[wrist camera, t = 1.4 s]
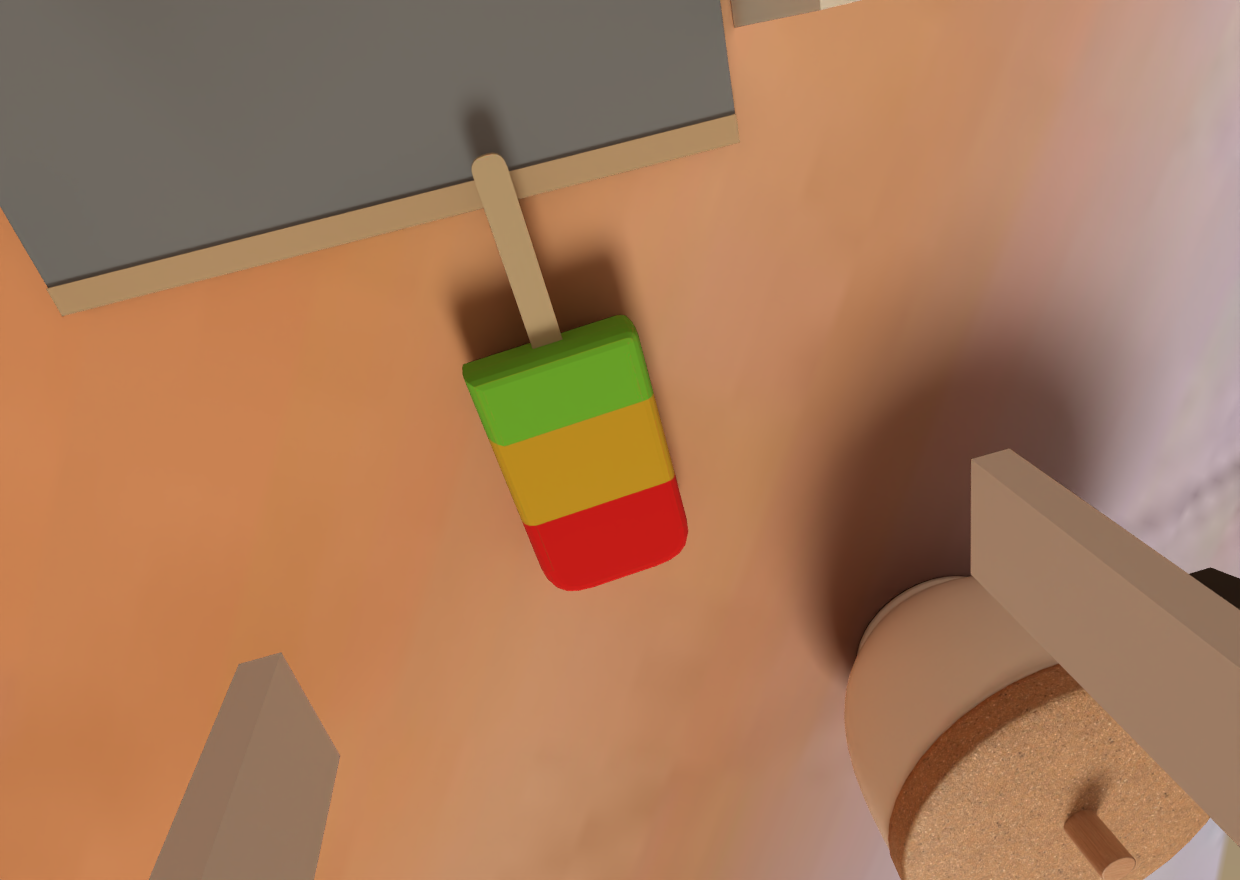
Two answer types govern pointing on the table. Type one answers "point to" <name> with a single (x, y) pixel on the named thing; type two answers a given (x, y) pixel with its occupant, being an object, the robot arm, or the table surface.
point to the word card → (776, 9)
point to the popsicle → (573, 424)
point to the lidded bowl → (998, 752)
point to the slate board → (322, 121)
